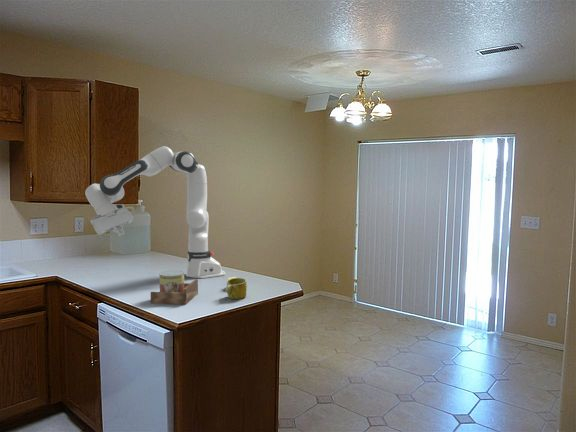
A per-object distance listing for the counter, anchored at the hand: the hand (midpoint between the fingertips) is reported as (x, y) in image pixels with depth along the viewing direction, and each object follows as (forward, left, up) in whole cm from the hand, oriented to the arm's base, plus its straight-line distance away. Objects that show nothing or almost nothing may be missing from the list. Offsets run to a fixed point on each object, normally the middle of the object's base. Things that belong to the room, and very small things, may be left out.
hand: (121, 234), depth 219 cm
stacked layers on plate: (-51, +25, -28) cm, 63 cm away
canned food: (-19, +31, -28) cm, 46 cm away
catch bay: (-20, +31, -27) cm, 46 cm away
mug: (-46, +42, -28) cm, 68 cm away
